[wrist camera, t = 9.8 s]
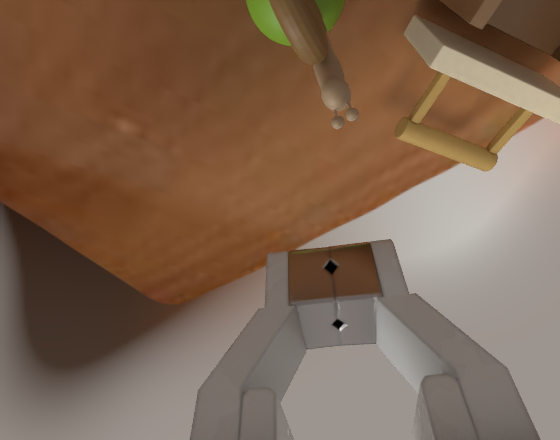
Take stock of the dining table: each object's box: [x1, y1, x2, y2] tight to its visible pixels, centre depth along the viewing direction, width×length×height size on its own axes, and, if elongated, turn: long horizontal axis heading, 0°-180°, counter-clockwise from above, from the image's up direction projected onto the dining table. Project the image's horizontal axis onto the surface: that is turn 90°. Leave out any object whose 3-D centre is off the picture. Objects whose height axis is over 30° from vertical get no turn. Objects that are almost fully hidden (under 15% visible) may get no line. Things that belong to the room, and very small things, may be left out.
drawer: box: [395, 0, 560, 171], centre depth 21 cm, size 17×10×6 cm, turn 159°
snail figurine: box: [246, 0, 359, 129], centre depth 19 cm, size 5×6×12 cm
